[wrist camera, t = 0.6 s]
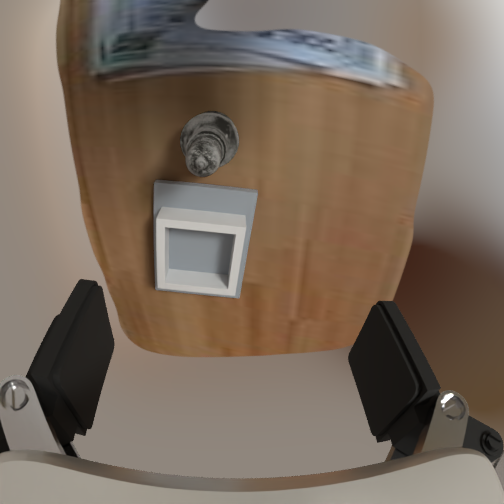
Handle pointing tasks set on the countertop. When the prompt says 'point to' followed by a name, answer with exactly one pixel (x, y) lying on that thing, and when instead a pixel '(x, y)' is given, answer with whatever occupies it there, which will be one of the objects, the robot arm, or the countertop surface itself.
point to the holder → (201, 237)
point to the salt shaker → (208, 142)
